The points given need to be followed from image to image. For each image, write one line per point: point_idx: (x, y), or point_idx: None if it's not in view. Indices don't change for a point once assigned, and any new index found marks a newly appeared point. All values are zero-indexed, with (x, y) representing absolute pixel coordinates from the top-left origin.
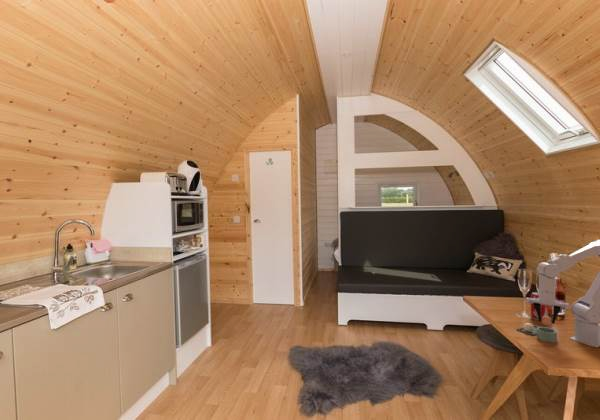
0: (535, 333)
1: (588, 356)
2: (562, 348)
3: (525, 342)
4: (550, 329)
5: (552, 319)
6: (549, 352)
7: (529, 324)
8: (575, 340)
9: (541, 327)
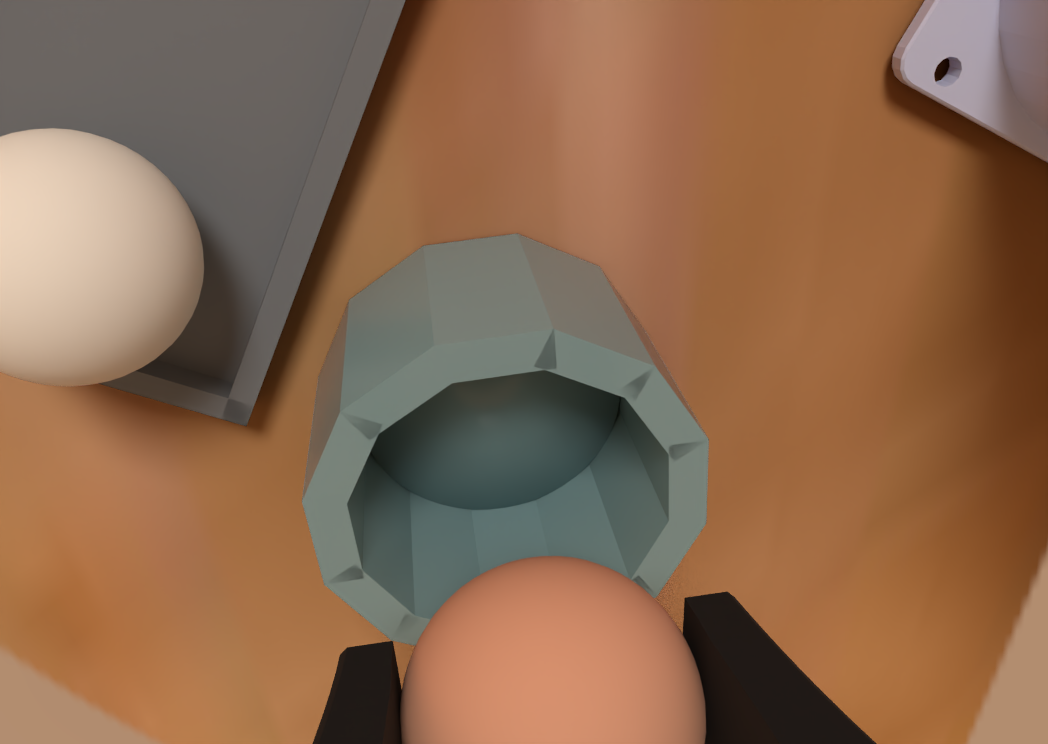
0: (274, 329)
1: (965, 621)
2: (706, 585)
3: (239, 708)
4: (582, 377)
5: (716, 673)
6: None
7: (76, 365)
8: (974, 118)
9: (391, 421)
